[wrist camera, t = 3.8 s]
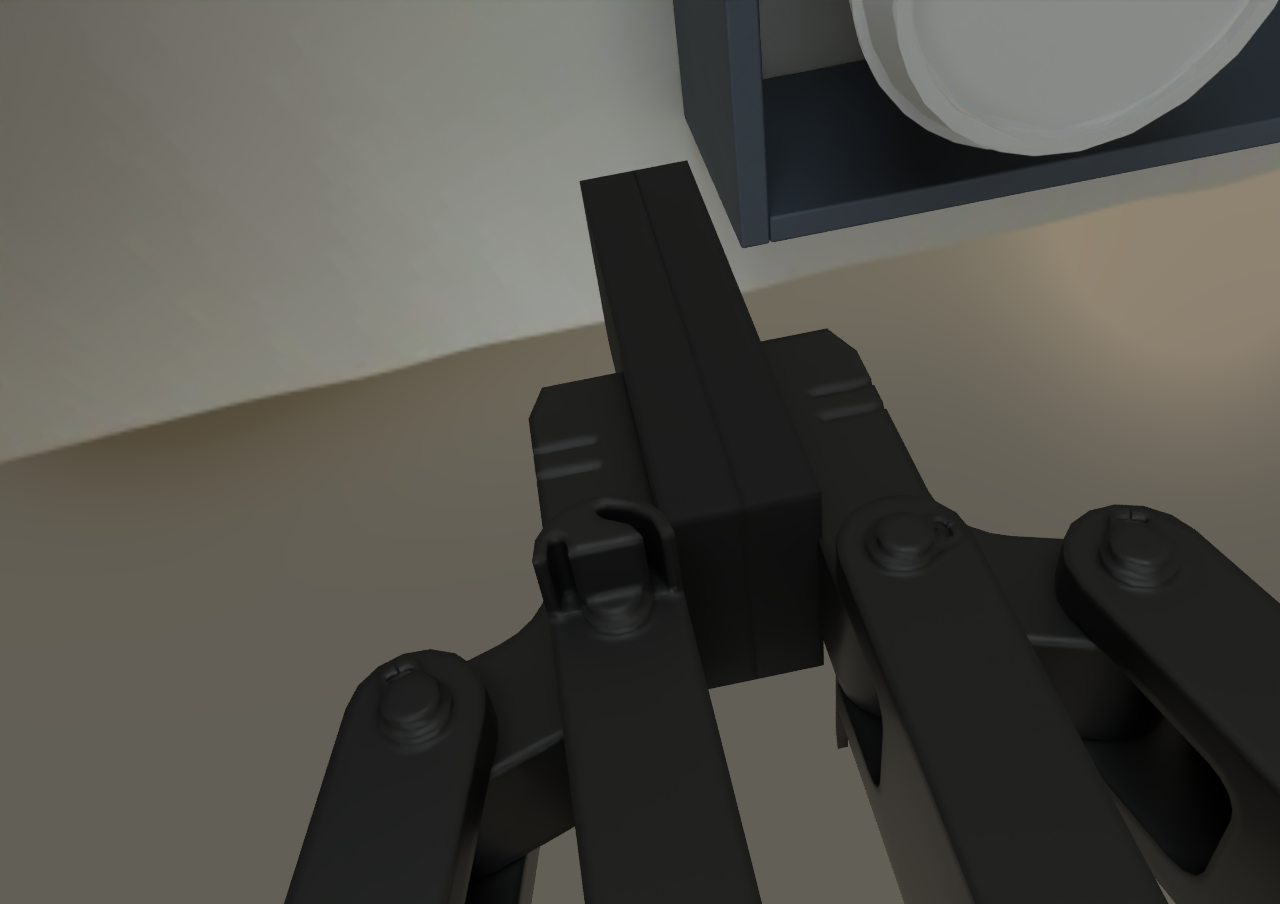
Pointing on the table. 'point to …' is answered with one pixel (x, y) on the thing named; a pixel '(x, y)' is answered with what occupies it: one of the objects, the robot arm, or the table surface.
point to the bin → (908, 134)
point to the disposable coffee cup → (1047, 64)
